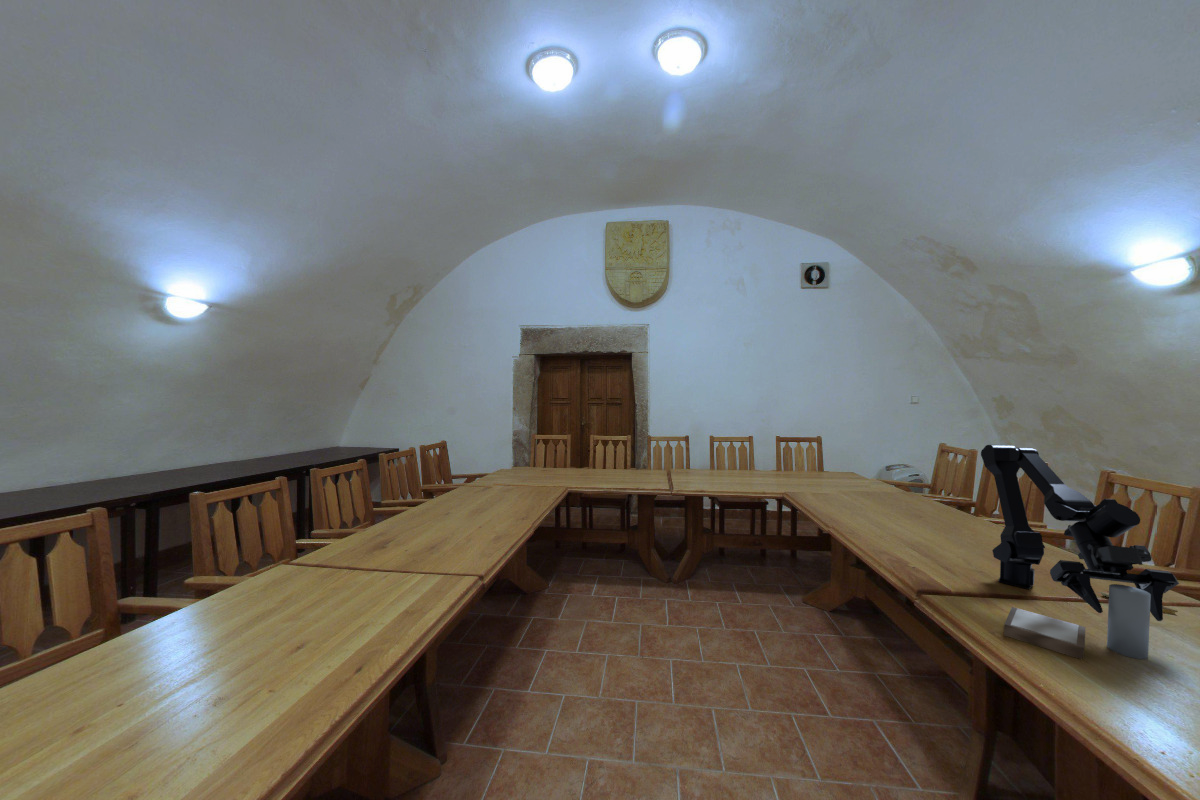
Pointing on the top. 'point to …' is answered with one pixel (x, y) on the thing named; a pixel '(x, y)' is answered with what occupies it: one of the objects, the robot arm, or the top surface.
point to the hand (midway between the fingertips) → (1130, 616)
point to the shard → (1165, 609)
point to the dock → (1046, 632)
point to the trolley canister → (1128, 621)
